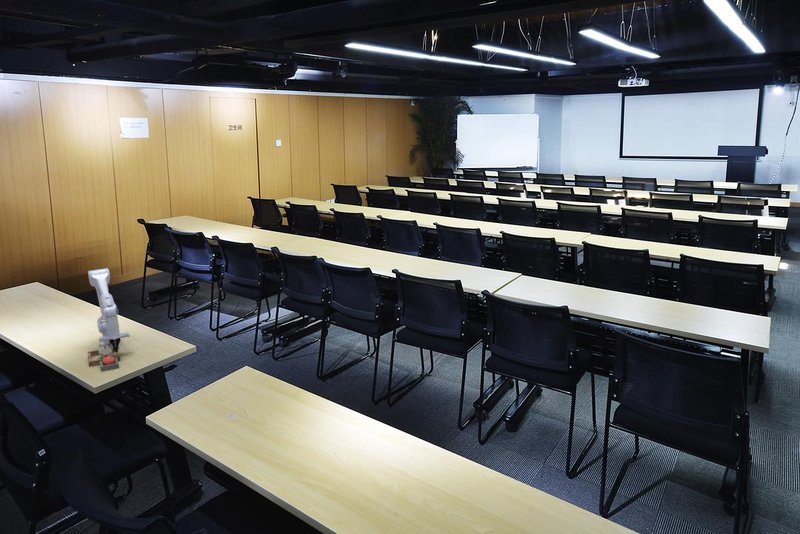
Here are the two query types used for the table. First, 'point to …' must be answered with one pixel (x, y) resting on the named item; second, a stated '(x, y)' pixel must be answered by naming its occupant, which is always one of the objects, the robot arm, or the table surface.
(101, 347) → the spiky grey ball
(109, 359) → the dome button
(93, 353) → the corral
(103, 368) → the button collar
